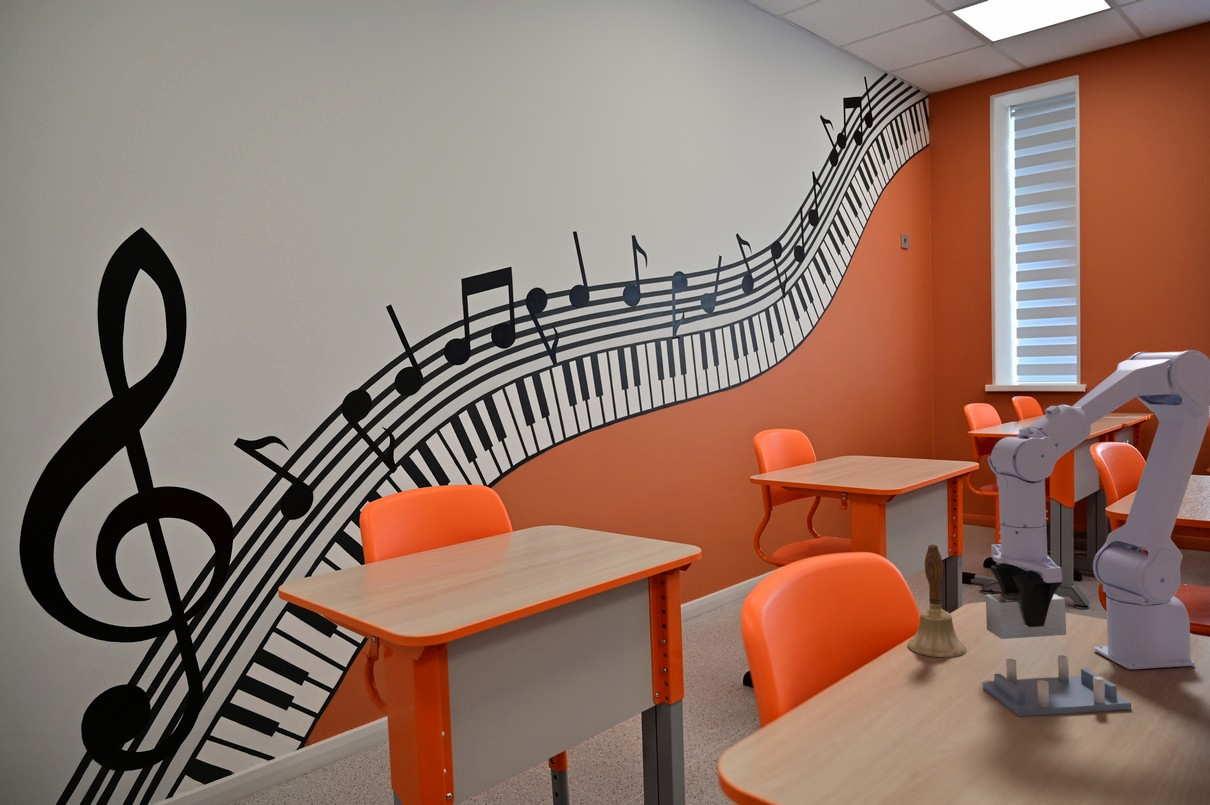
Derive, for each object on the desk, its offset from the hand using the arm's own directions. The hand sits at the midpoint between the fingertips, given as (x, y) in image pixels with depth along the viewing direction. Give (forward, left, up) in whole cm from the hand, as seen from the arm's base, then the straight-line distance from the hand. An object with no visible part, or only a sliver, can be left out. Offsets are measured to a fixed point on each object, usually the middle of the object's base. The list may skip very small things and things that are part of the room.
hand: (1026, 620), depth 113 cm
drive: (0, 0, -2) cm, 2 cm away
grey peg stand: (+2, +9, -7) cm, 12 cm away
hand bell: (+8, -11, -7) cm, 16 cm away
